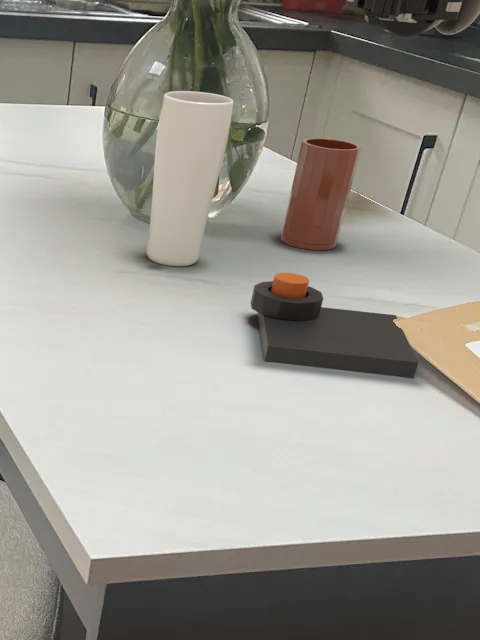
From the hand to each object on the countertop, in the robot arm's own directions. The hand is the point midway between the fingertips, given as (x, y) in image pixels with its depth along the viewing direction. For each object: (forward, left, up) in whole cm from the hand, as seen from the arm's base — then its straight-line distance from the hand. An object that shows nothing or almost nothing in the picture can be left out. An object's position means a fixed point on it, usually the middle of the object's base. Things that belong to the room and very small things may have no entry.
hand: (384, 6), depth 112 cm
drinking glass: (+18, +22, -22) cm, 36 cm away
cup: (+3, +9, -22) cm, 24 cm away
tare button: (+8, +39, -19) cm, 44 cm away
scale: (+4, +43, -22) cm, 48 cm away
